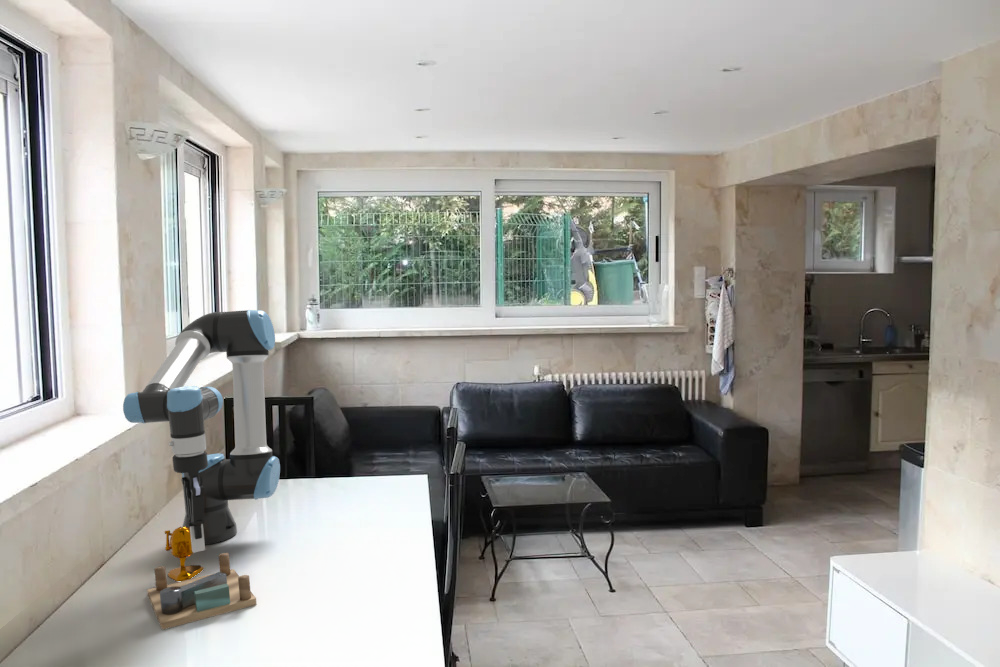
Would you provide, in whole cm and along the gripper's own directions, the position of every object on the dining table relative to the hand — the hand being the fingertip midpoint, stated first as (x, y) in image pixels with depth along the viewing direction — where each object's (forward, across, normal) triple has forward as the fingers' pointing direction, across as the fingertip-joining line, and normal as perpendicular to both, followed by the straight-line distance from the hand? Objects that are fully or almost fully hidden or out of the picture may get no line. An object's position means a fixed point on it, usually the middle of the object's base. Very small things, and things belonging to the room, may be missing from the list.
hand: (198, 550), depth 187 cm
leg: (+8, +9, -3) cm, 13 cm away
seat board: (+10, +5, -1) cm, 11 cm away
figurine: (+10, -15, -1) cm, 18 cm away
